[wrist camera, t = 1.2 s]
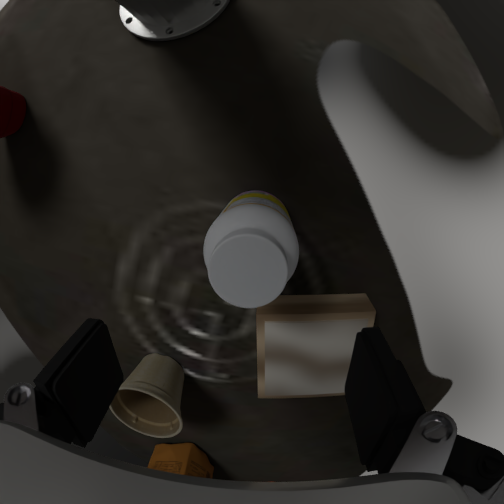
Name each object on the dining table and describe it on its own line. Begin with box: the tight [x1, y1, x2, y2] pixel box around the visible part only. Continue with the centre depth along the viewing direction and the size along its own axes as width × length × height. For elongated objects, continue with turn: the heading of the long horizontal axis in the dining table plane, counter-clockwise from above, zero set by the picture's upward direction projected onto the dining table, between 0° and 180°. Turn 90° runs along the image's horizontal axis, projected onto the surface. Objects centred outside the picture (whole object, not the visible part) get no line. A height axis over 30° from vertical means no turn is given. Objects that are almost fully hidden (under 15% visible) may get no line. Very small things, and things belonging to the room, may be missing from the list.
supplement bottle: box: [204, 190, 299, 308], centre depth 23 cm, size 7×7×13 cm
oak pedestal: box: [256, 293, 376, 398], centre depth 31 cm, size 12×12×4 cm
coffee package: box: [147, 443, 214, 479], centre depth 34 cm, size 10×12×22 cm
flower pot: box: [109, 353, 184, 438], centre depth 32 cm, size 9×9×9 cm
